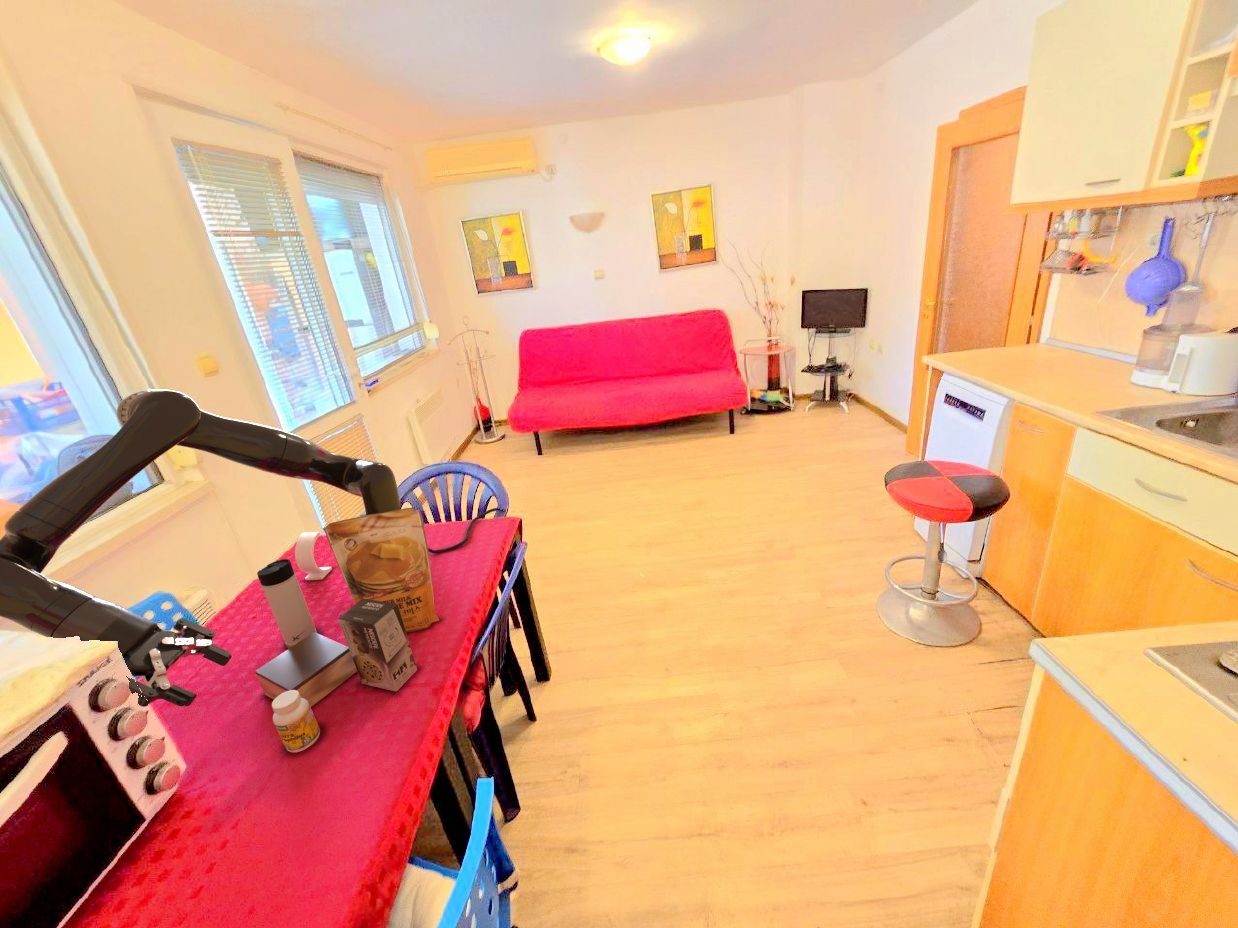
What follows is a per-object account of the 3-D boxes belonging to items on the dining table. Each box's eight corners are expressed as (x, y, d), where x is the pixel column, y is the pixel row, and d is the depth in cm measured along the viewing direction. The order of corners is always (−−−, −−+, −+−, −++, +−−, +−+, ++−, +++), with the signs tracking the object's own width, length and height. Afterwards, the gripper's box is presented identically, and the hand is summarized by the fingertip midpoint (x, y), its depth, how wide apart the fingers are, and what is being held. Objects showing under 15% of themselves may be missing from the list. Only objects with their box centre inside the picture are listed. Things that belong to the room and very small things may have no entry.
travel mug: (304, 650, 110) (274, 573, 103) (279, 648, 112) (247, 572, 104) (325, 631, 116) (297, 557, 108) (301, 629, 117) (272, 555, 110)
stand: (322, 654, 109) (314, 631, 106) (358, 670, 103) (349, 647, 101) (265, 694, 99) (254, 670, 97) (300, 715, 93) (290, 690, 91)
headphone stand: (332, 569, 142) (319, 531, 137) (319, 581, 136) (306, 543, 132) (316, 569, 142) (303, 532, 137) (303, 582, 136) (289, 544, 132)
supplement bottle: (324, 723, 91) (308, 683, 88) (315, 749, 86) (297, 707, 83) (292, 731, 90) (274, 690, 87) (280, 757, 85) (261, 715, 82)
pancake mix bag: (362, 624, 117) (326, 517, 107) (447, 608, 120) (420, 503, 110) (354, 644, 111) (316, 532, 101) (443, 626, 114) (415, 516, 104)
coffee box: (418, 668, 102) (399, 603, 96) (396, 693, 96) (374, 625, 91) (383, 660, 105) (362, 596, 99) (359, 683, 100) (336, 617, 94)
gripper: (73, 649, 70) (191, 700, 75) (153, 588, 83) (249, 635, 88) (52, 683, 72) (169, 731, 76) (134, 618, 85) (229, 663, 90)
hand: (211, 680), depth 82 cm, fingers open, 8 cm apart
